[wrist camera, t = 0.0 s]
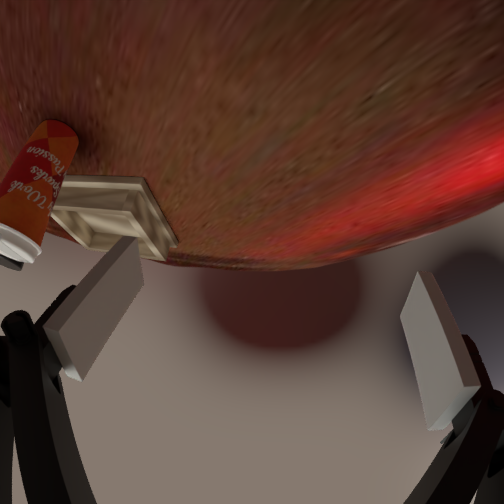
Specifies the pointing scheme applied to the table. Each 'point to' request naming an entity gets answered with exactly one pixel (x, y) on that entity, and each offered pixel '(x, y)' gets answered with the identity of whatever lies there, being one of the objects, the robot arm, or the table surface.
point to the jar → (11, 263)
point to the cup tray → (113, 214)
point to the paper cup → (34, 189)
